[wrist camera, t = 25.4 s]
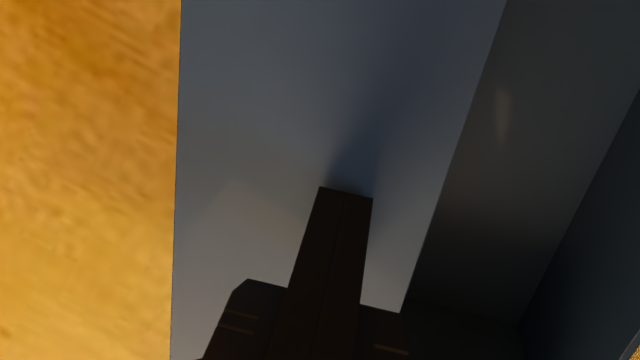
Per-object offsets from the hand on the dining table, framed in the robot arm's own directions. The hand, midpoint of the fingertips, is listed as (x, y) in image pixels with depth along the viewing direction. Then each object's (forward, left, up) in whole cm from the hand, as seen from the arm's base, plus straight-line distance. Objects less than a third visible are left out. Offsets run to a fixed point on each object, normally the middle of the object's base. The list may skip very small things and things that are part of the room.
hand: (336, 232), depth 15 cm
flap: (0, +1, -1) cm, 1 cm away
